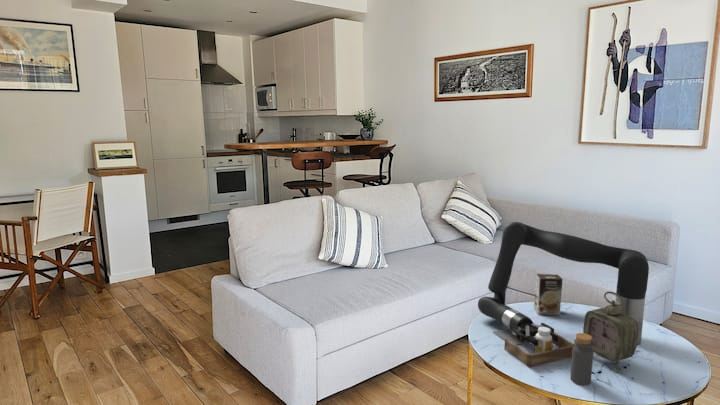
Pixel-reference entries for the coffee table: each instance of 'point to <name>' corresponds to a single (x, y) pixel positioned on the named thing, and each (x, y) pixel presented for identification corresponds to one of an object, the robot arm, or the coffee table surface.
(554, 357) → the walnut u-shaped bay
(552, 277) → the coffee box
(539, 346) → the supplement bottle
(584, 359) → the bottle
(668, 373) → the coffee table surface
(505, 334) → the rubber mat
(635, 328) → the tabletop clock
